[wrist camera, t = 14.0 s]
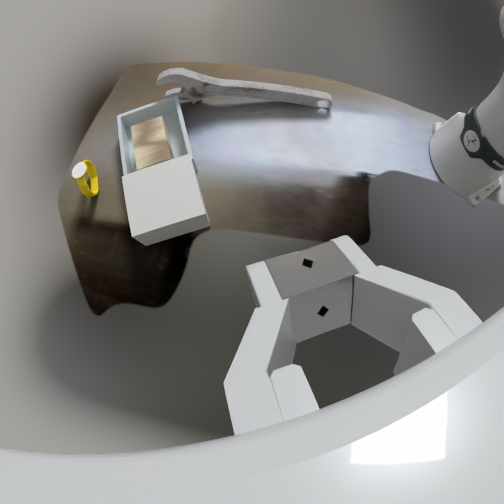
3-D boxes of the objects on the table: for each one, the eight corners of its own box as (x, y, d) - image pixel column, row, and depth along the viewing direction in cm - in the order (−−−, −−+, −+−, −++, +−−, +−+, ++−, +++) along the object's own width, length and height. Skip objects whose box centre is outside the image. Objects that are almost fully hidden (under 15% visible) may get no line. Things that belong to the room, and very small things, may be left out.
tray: (181, 109, 46) (177, 95, 42) (197, 170, 44) (193, 158, 40) (124, 128, 45) (117, 115, 41) (133, 191, 43) (124, 181, 39)
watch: (87, 174, 44) (72, 156, 38) (101, 168, 44) (86, 150, 38) (88, 204, 42) (71, 188, 36) (103, 198, 42) (86, 182, 37)
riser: (195, 172, 44) (189, 153, 38) (210, 226, 42) (205, 213, 36) (135, 191, 43) (121, 176, 37) (146, 246, 41) (131, 236, 35)
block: (177, 173, 43) (168, 132, 44) (170, 158, 38) (161, 115, 39) (147, 183, 42) (140, 142, 44) (137, 169, 38) (130, 126, 39)
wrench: (324, 118, 50) (159, 104, 45) (322, 110, 50) (161, 97, 46) (340, 92, 42) (154, 75, 38) (338, 85, 42) (156, 67, 38)
